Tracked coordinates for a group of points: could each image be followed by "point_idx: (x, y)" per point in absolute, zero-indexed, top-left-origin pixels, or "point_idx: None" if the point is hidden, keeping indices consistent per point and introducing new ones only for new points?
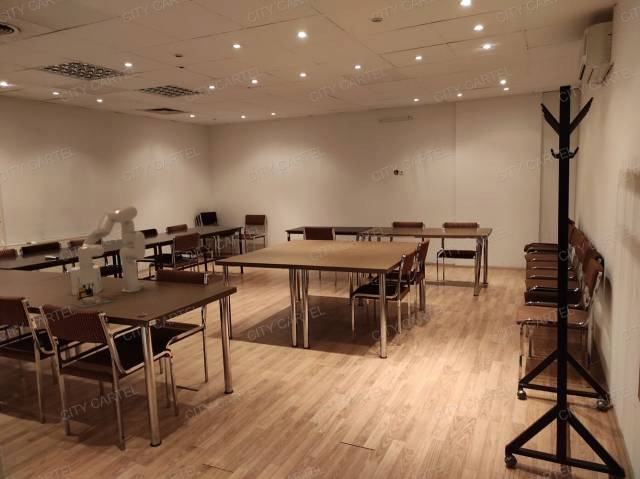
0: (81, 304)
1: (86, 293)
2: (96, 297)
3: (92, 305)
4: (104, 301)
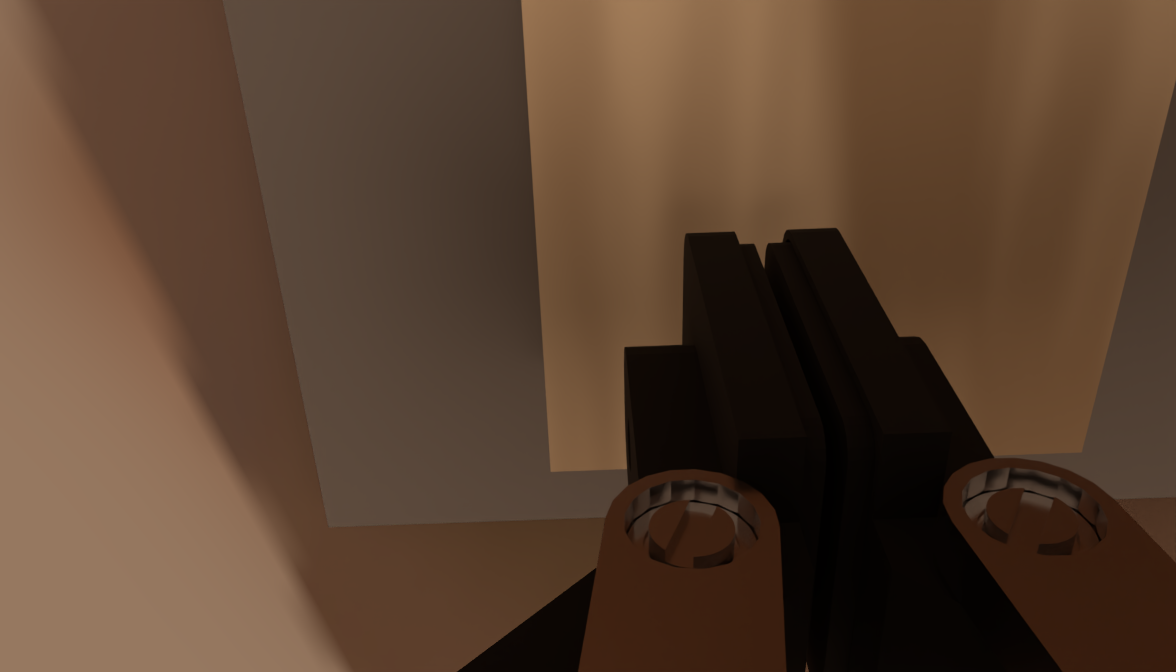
0: (413, 116)
1: (627, 446)
2: (989, 361)
3: None
4: (1125, 359)
